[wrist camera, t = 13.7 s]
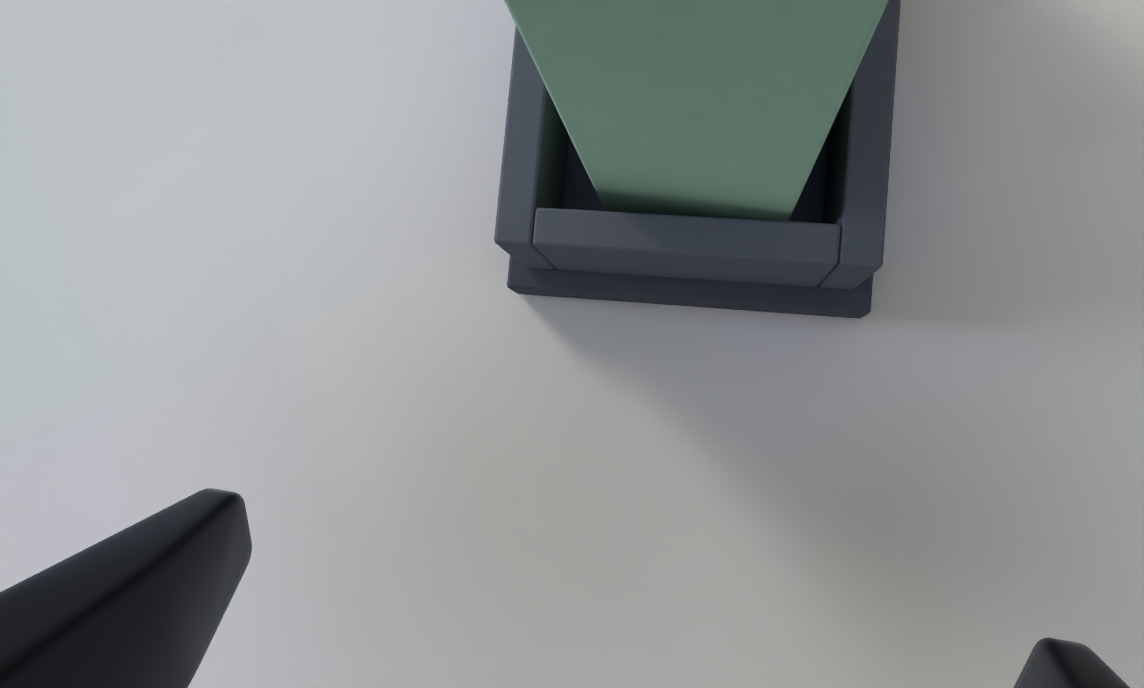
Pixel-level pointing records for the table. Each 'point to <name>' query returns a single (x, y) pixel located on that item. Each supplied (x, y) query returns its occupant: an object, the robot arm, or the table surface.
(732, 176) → the green box
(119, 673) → the robot arm
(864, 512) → the table surface
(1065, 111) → the table surface
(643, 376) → the table surface
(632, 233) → the dark grey open box
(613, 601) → the table surface
